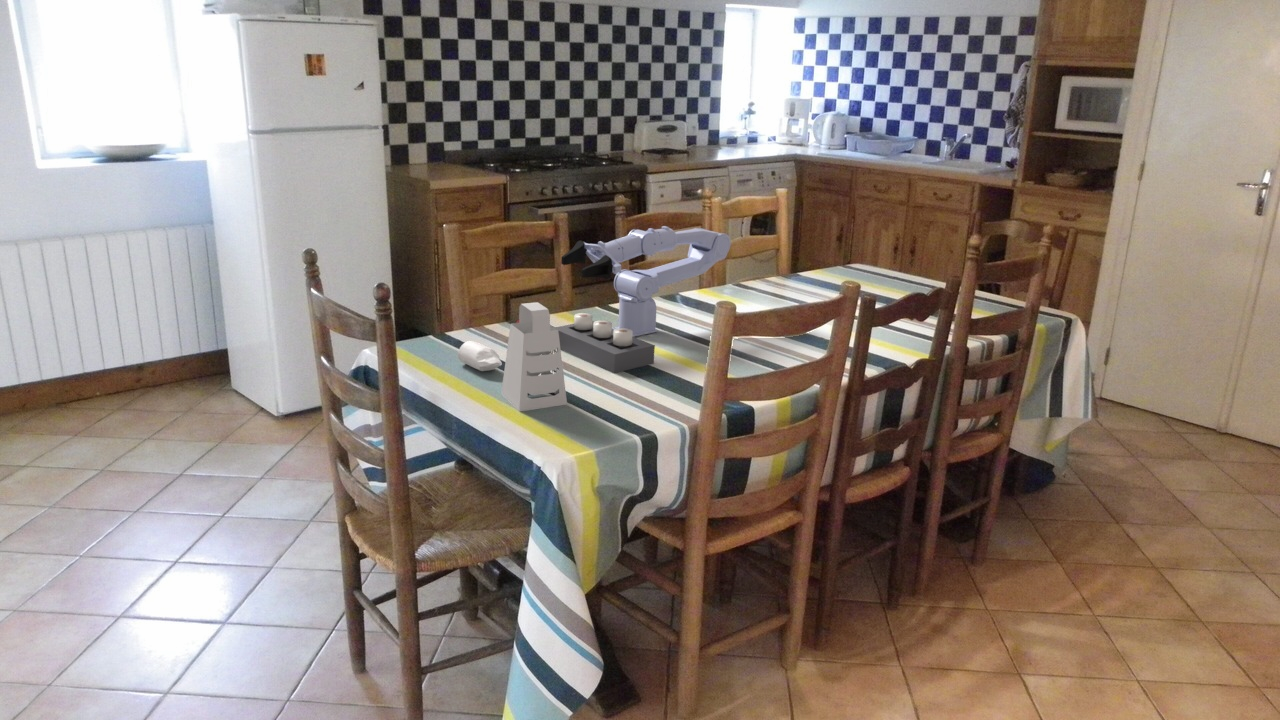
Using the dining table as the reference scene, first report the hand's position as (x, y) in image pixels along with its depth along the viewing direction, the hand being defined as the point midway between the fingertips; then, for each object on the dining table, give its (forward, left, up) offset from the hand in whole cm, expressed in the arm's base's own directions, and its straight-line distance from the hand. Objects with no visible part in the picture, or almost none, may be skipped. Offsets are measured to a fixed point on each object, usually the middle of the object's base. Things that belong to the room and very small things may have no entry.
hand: (572, 267), depth 224 cm
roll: (+27, +3, -20) cm, 34 cm away
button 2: (-2, +17, -15) cm, 23 cm away
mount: (-2, +10, -20) cm, 22 cm away
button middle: (-2, +10, -15) cm, 18 cm away
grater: (+28, +25, -20) cm, 42 cm away
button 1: (-2, +2, -15) cm, 15 cm away
